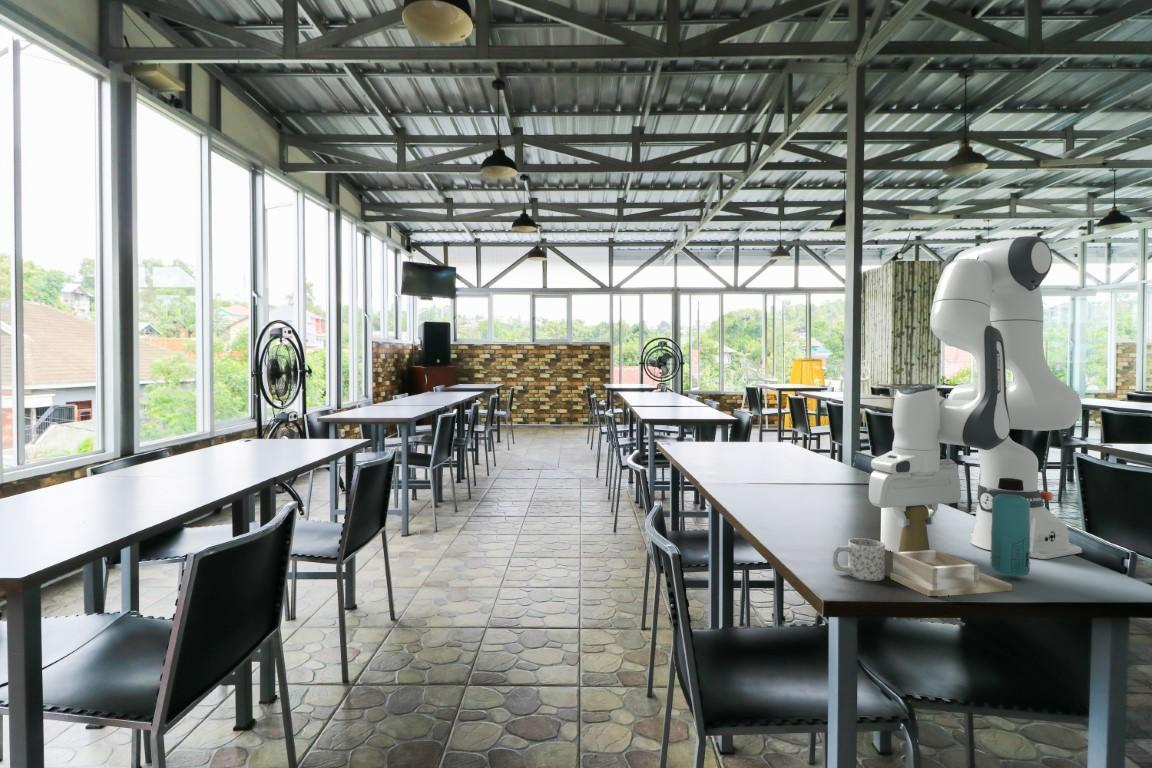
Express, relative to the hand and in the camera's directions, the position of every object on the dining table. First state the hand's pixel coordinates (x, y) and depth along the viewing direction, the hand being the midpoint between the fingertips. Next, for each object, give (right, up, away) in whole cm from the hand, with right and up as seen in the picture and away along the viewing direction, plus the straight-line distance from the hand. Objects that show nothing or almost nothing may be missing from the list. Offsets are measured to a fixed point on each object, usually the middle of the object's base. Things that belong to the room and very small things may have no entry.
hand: (915, 525), depth 129 cm
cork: (0, -7, 0) cm, 7 cm away
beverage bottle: (+14, -9, -8) cm, 19 cm away
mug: (-16, -9, -7) cm, 19 cm away
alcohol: (+3, -8, +11) cm, 14 cm away
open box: (0, -9, -12) cm, 15 cm away
